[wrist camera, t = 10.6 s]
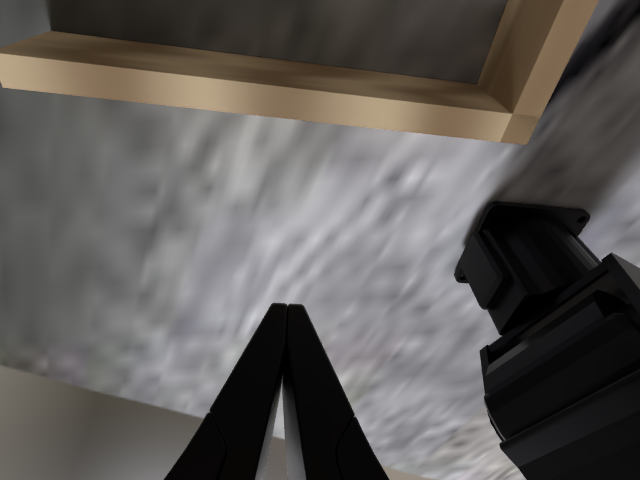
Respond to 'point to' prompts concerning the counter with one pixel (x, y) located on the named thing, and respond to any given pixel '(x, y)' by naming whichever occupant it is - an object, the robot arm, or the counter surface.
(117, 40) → the wooden frame
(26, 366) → the counter surface
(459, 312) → the counter surface
